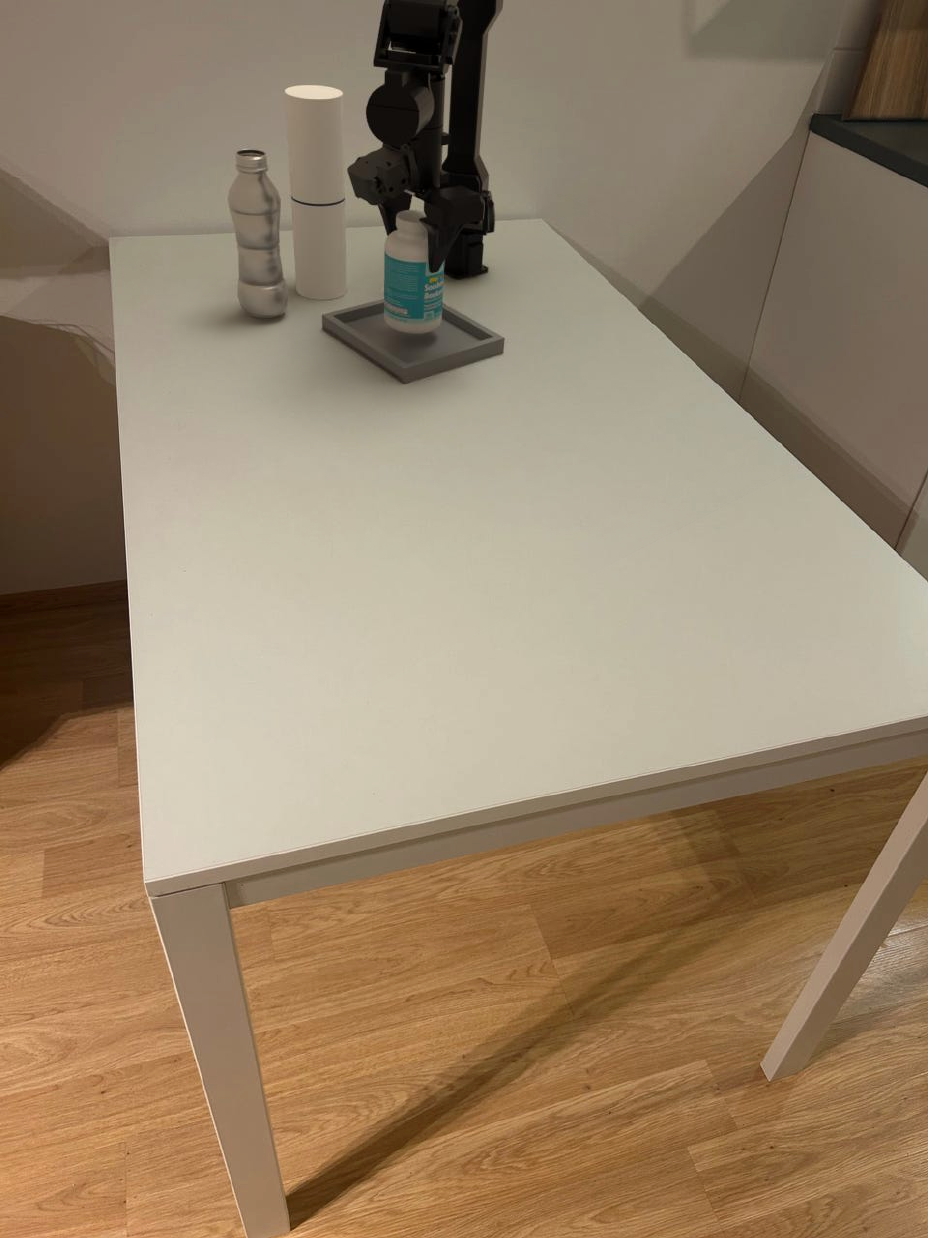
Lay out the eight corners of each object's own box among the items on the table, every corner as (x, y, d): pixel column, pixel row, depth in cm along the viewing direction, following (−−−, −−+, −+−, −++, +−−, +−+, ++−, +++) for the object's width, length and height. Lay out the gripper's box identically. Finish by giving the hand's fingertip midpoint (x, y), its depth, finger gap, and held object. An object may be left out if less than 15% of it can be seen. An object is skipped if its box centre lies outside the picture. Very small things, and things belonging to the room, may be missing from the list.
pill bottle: (433, 340, 117) (438, 230, 108) (376, 331, 118) (376, 221, 109) (447, 316, 123) (452, 210, 114) (392, 308, 123) (394, 201, 114)
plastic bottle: (267, 328, 122) (254, 164, 108) (228, 314, 124) (211, 152, 111) (299, 313, 126) (290, 153, 113) (261, 299, 128) (248, 141, 115)
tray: (322, 329, 123) (321, 314, 121) (419, 303, 131) (419, 289, 129) (404, 383, 113) (404, 368, 111) (503, 352, 121) (504, 337, 119)
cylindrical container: (306, 302, 129) (296, 100, 112) (289, 283, 133) (276, 86, 117) (354, 295, 131) (351, 97, 115) (336, 277, 136) (330, 83, 119)
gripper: (311, 110, 106) (317, 248, 116) (410, 154, 95) (407, 302, 106) (391, 99, 111) (390, 233, 122) (492, 140, 101) (482, 282, 111)
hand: (414, 261), depth 115 cm, fingers closed on pill bottle, 7 cm apart
